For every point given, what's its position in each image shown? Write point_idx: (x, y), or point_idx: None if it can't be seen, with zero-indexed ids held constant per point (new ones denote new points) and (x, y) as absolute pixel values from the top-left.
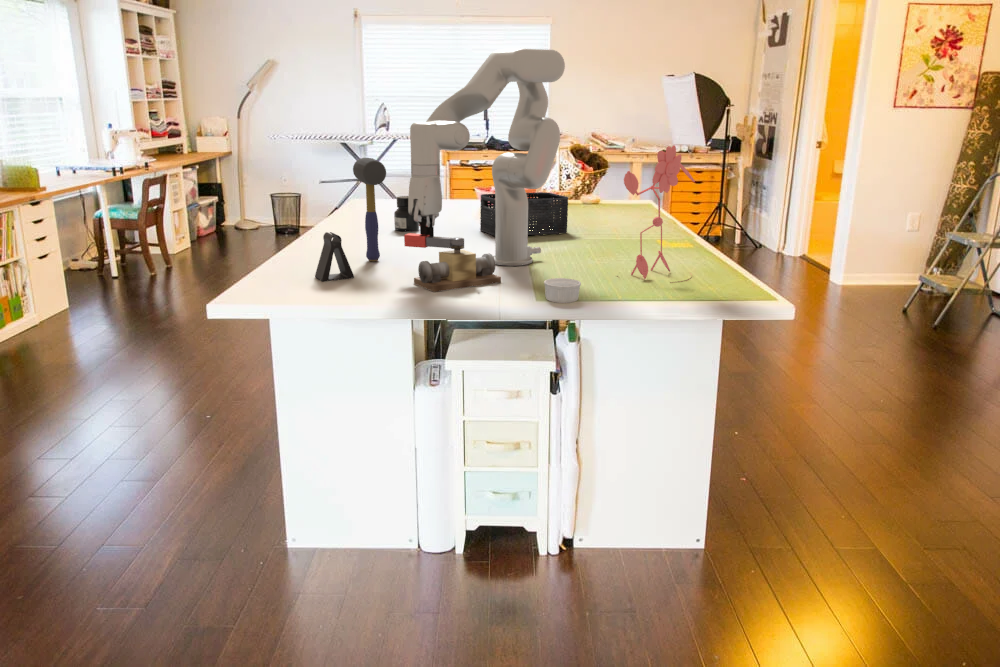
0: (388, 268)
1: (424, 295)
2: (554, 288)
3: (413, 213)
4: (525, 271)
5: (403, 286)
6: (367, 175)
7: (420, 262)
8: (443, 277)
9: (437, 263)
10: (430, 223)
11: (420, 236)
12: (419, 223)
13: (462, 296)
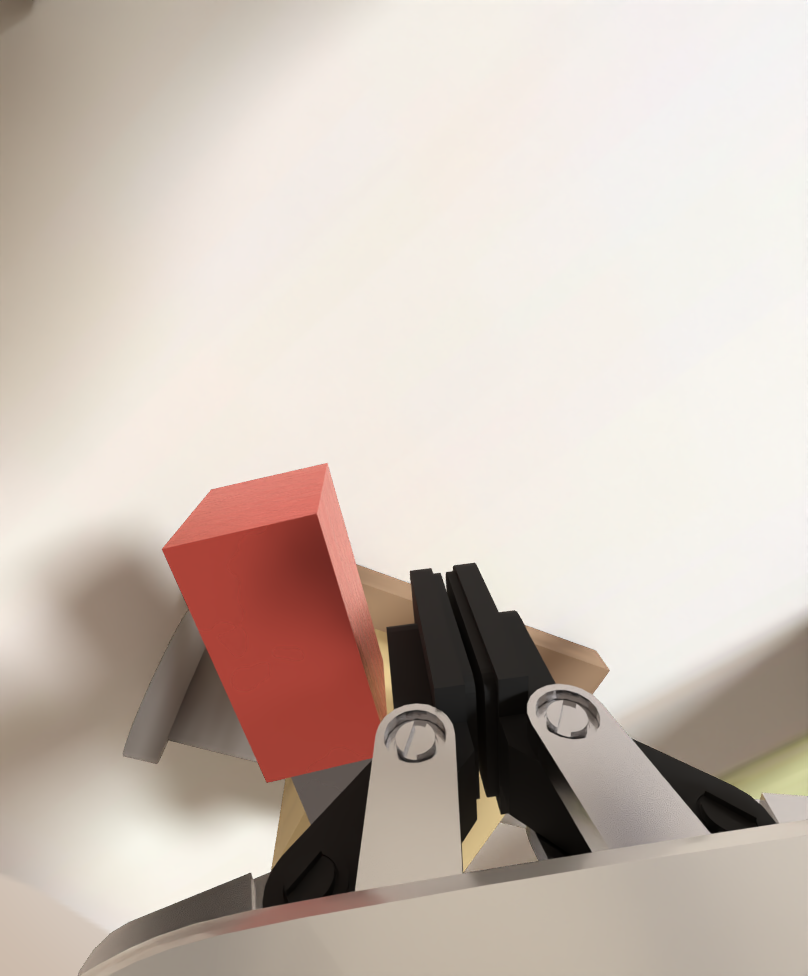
0: (499, 19)
1: (79, 706)
2: None
3: (294, 945)
4: (741, 752)
5: (135, 514)
6: None
7: (146, 691)
8: None
9: (239, 751)
10: (528, 824)
11: (249, 737)
12: (334, 805)
13: (192, 815)
